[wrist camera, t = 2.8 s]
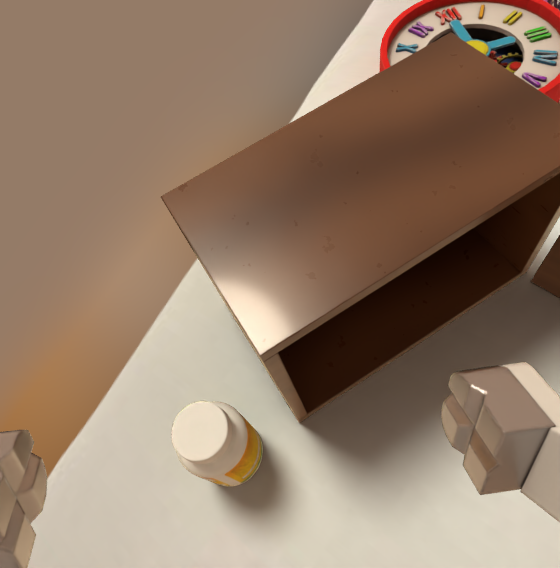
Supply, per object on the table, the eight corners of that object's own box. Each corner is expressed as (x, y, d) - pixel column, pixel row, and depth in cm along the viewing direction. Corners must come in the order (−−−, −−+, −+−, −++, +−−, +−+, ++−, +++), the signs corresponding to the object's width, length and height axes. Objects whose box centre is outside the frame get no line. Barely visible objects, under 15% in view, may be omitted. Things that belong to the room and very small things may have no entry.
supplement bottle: (207, 494, 39) (163, 481, 30) (199, 429, 41) (156, 402, 33) (270, 477, 39) (243, 460, 30) (257, 413, 41) (230, 382, 33)
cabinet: (526, 272, 43) (608, 135, 29) (299, 423, 40) (259, 356, 25) (426, 180, 50) (450, 31, 35) (225, 303, 47) (160, 196, 32)
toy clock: (416, 132, 46) (358, 17, 56) (411, 172, 51) (358, 60, 61) (620, 75, 45) (523, -31, 55) (594, 122, 50) (510, 17, 60)
